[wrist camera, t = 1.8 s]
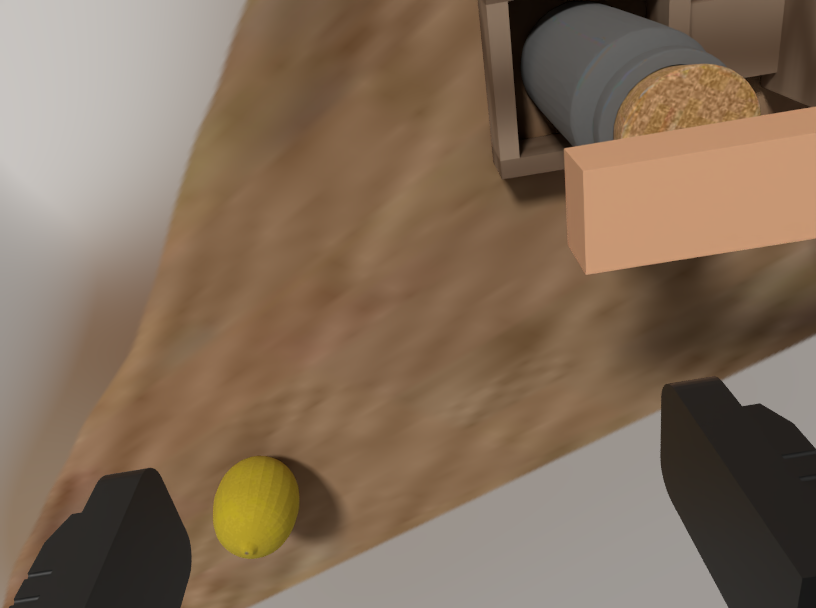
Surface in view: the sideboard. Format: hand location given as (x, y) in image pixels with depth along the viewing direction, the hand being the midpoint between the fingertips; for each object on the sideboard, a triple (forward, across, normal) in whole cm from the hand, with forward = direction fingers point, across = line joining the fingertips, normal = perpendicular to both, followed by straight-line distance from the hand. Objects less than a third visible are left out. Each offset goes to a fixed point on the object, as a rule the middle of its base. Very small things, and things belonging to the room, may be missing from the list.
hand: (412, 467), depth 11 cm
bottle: (+29, -10, 0) cm, 30 cm away
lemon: (+29, +13, +24) cm, 40 cm away
